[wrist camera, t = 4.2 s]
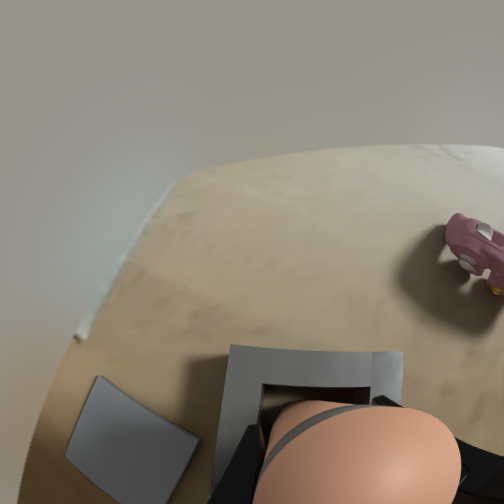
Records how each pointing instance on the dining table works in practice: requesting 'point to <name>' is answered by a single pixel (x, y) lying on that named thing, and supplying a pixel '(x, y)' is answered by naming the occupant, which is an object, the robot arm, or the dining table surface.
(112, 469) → the mat
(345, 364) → the eye block
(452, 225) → the video game controller
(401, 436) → the pin
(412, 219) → the dining table surface
